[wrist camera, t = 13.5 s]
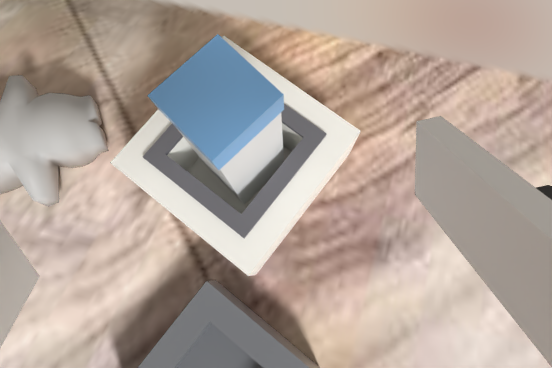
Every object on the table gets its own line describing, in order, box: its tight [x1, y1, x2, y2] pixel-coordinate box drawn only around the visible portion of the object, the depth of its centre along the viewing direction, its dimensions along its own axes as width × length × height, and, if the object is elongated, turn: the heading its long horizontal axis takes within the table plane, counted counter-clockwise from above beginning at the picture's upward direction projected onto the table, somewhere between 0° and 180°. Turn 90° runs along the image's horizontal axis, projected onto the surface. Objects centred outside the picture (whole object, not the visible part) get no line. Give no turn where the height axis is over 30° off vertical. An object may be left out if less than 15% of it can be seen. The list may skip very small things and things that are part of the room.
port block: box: [110, 36, 360, 276], centre depth 26 cm, size 11×11×5 cm
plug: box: [147, 34, 284, 204], centre depth 22 cm, size 4×4×12 cm
